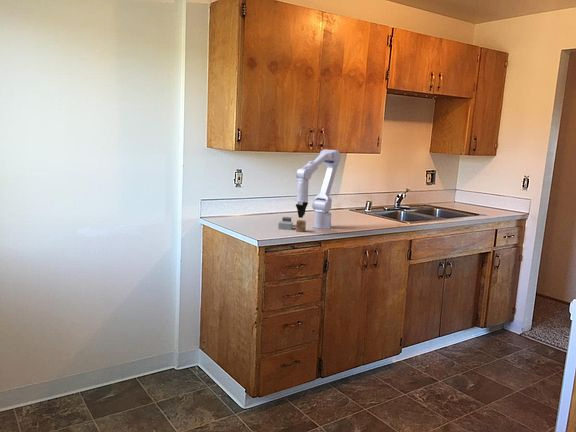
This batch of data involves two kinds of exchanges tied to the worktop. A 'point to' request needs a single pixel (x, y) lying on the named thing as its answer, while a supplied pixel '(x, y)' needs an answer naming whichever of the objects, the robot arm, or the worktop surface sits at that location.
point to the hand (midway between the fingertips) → (301, 216)
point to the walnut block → (300, 226)
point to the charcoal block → (286, 219)
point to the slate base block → (285, 225)
